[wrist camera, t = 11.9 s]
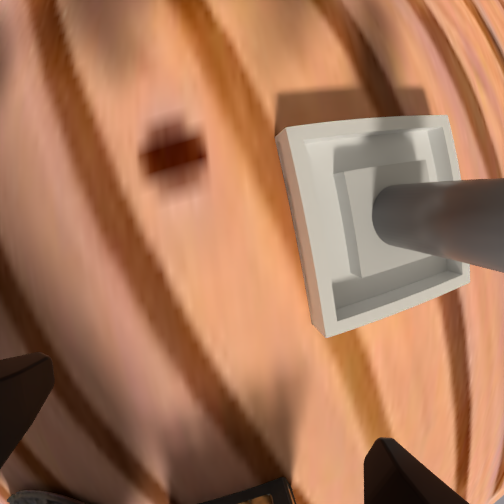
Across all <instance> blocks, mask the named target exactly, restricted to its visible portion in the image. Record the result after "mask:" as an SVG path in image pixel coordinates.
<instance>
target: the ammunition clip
mask: <svg viewBox="0 0 504 504" xmlns="http://www.w3.org/2000/svg"><path fill="white" fill-rule="evenodd" d="M199 504H296V502H295V498H294V495H293V491H292V488H291V486H290V485H289V483H288V481H287V480H286V478H284V477H281V478H278V479H276V480H273V481H270V482H267V483H265V484H262V485H259V486H256V487H253V488H250V489H247V490H244V491H241V492H238V493H235V494H232V495H228V496H225V497H221V498H218V499H214V500H211V501H207V502H203V503H199Z"/></svg>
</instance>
